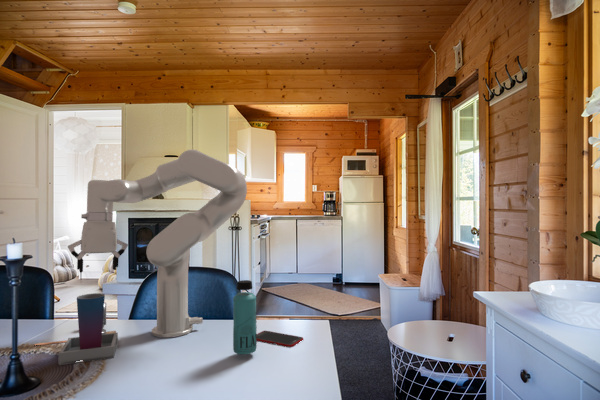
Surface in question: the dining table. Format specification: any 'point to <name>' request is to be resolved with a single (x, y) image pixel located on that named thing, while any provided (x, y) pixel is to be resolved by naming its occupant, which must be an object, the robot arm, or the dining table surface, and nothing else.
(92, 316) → the cup
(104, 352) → the tray
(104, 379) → the dining table surface
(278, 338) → the cell phone
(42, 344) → the crank base
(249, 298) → the beverage bottle
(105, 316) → the crank
